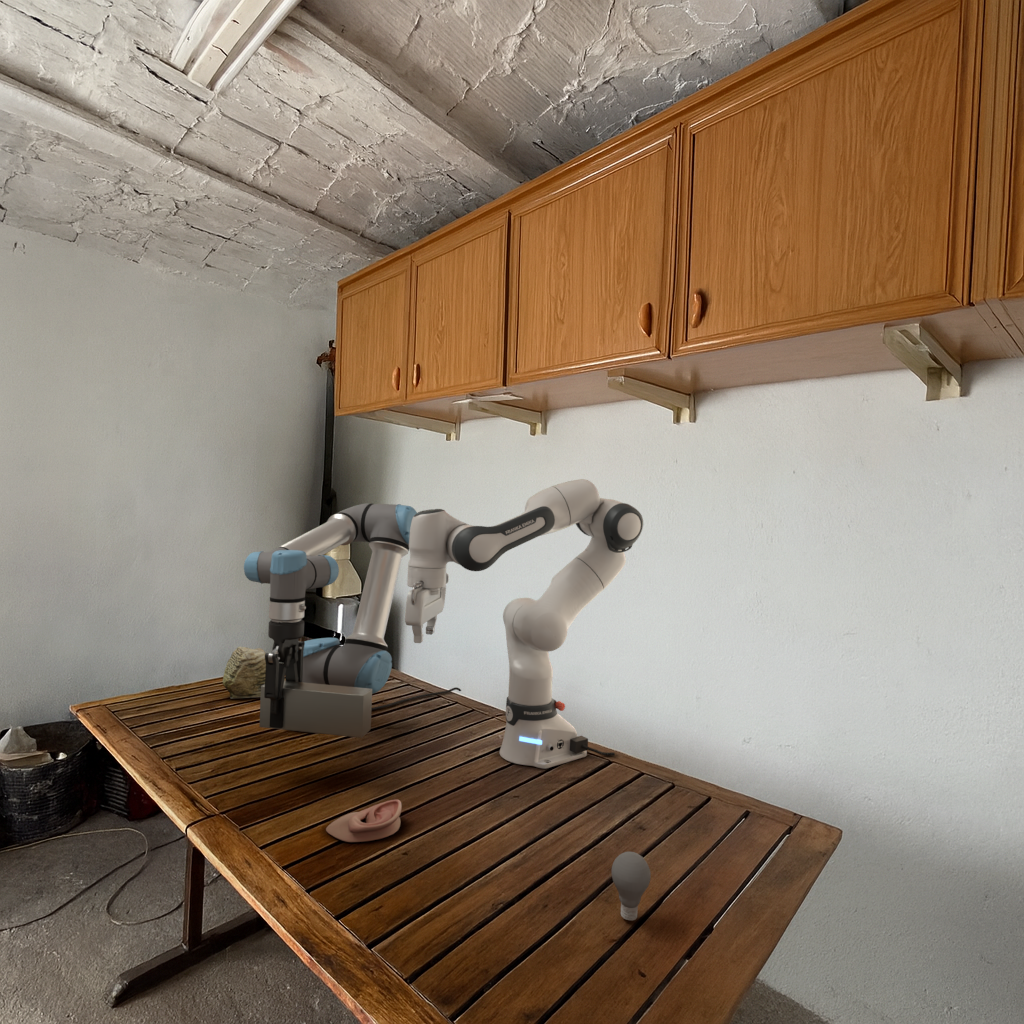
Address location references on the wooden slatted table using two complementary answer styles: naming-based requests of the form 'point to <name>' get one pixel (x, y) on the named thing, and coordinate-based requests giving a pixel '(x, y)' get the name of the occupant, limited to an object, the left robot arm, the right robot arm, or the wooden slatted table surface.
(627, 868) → the light bulb
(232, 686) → the fossil
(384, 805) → the anatomical model
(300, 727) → the bar
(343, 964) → the wooden slatted table surface
